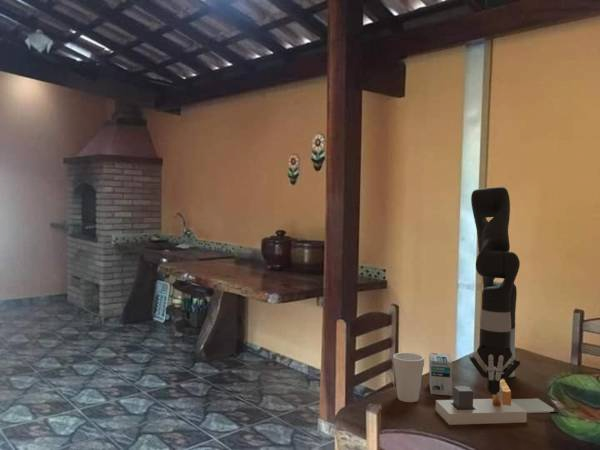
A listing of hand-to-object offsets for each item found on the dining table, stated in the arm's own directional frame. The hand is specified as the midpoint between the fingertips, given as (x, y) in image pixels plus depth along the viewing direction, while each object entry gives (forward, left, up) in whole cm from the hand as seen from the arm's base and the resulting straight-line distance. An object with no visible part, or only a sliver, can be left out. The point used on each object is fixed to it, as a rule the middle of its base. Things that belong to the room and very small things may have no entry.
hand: (493, 393), depth 129 cm
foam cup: (-25, -14, -10) cm, 31 cm away
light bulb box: (-32, -1, -11) cm, 34 cm away
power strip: (-10, +2, -10) cm, 15 cm away
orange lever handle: (-4, +4, -7) cm, 9 cm away
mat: (-16, +21, -10) cm, 28 cm away
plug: (-10, -3, -10) cm, 15 cm away
